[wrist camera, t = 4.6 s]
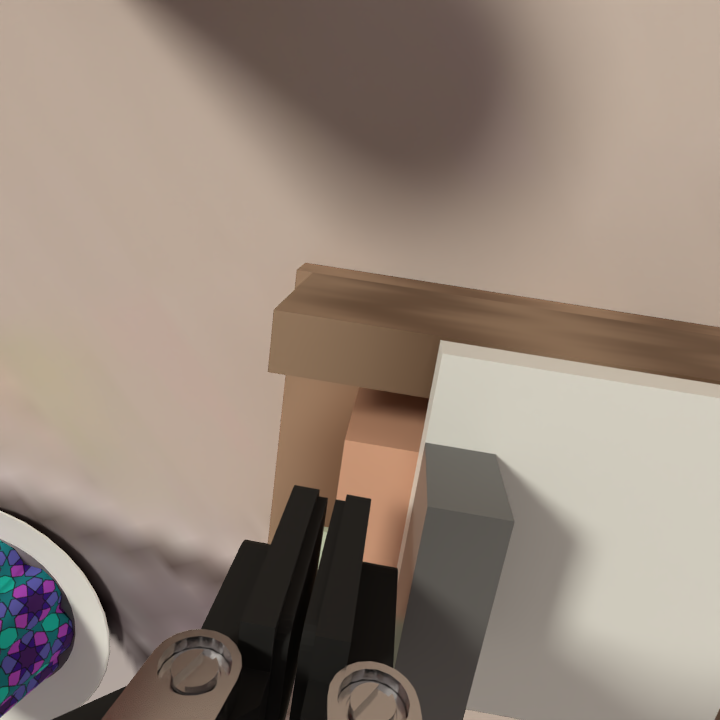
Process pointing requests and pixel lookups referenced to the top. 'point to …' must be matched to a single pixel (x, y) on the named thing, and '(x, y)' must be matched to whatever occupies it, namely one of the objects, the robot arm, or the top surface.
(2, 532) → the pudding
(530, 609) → the sliding lid
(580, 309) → the puzzle board
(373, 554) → the terracotta block
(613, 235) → the top surface
